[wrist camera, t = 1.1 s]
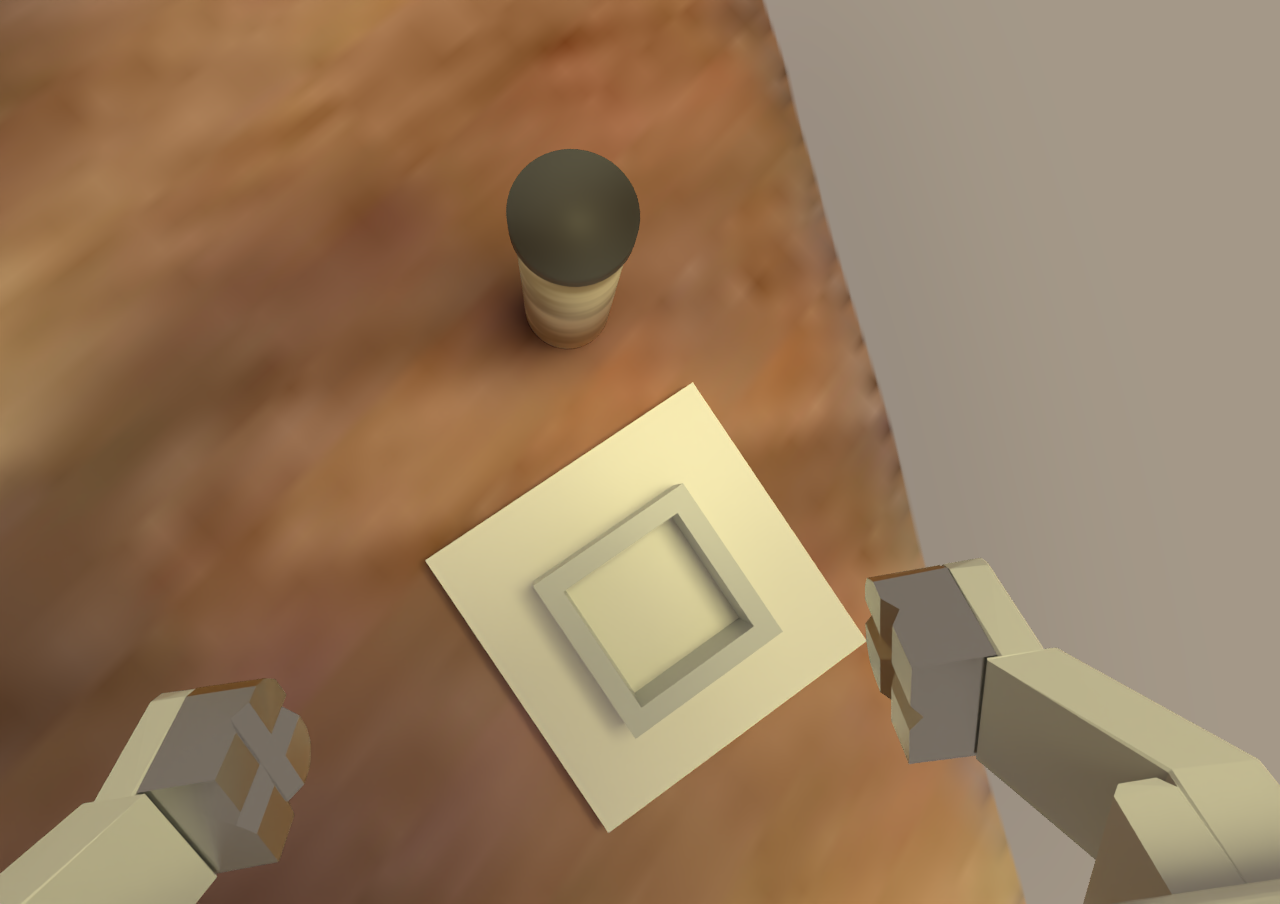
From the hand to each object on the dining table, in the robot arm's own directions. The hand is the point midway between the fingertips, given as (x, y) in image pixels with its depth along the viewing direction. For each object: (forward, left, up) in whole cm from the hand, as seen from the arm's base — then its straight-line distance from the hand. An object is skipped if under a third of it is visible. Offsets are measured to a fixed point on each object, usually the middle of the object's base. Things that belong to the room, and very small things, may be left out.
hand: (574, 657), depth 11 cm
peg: (-10, +7, -30) cm, 33 cm away
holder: (+5, +2, -30) cm, 31 cm away
